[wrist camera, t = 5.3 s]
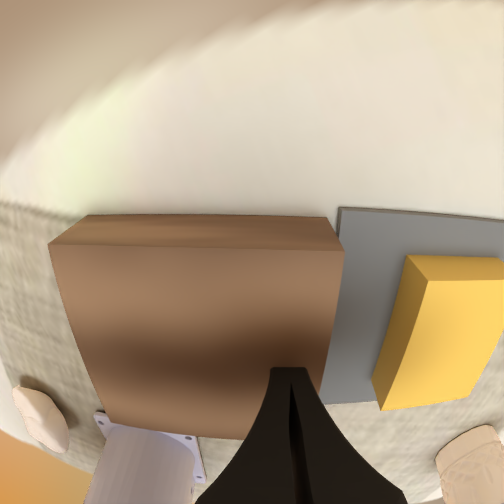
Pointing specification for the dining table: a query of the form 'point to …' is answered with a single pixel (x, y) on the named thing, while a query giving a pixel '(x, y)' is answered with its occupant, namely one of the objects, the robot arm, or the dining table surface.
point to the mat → (387, 283)
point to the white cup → (472, 468)
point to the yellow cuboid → (440, 330)
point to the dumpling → (42, 418)
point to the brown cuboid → (197, 312)
